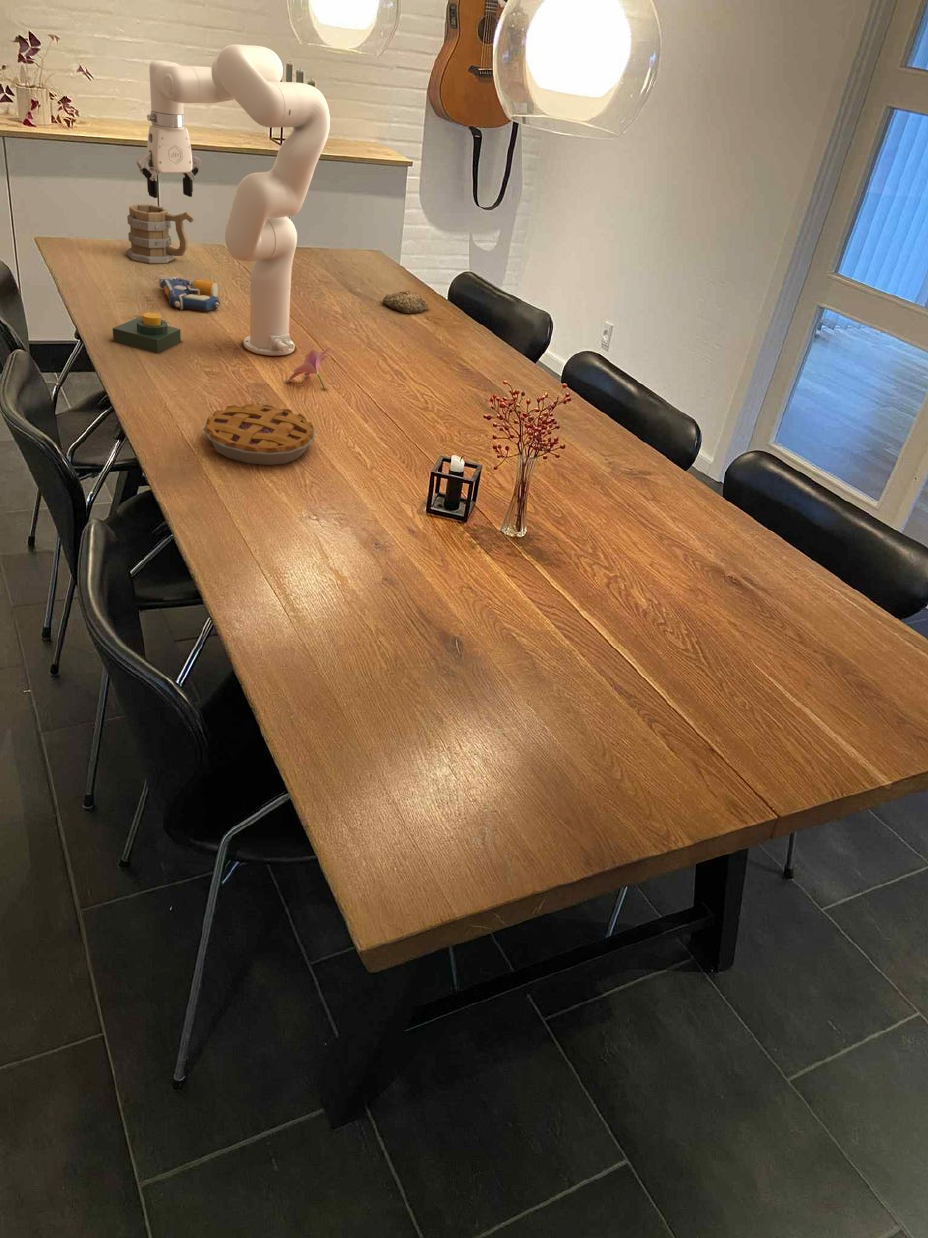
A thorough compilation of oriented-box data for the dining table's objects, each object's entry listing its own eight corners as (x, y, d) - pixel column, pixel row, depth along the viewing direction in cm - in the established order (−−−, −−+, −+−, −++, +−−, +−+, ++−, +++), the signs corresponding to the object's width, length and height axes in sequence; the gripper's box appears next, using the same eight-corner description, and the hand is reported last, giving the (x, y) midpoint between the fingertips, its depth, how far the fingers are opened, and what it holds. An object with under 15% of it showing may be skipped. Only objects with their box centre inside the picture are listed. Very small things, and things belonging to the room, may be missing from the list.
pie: (223, 414, 196) (223, 392, 194) (325, 432, 196) (326, 410, 194) (188, 456, 178) (188, 432, 176) (300, 476, 178) (301, 452, 176)
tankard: (121, 257, 276) (117, 204, 268) (140, 248, 286) (137, 197, 278) (185, 270, 275) (183, 217, 266) (202, 261, 285) (201, 209, 277)
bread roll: (402, 315, 270) (404, 298, 267) (377, 302, 277) (378, 285, 274) (435, 311, 278) (437, 295, 275) (410, 298, 285) (412, 282, 282)
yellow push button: (164, 323, 223) (163, 315, 222) (154, 328, 219) (154, 319, 218) (149, 320, 223) (149, 311, 222) (139, 324, 220) (139, 315, 219)
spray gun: (212, 288, 265) (158, 288, 258) (212, 273, 262) (157, 272, 256) (229, 314, 250) (172, 314, 244) (229, 298, 248) (171, 298, 241)
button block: (180, 341, 227) (180, 321, 224) (157, 353, 219) (156, 332, 216) (137, 330, 229) (136, 310, 227) (113, 341, 221) (111, 320, 218)
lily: (334, 380, 224) (318, 342, 220) (352, 379, 214) (336, 339, 210) (290, 399, 220) (274, 360, 216) (306, 399, 210) (289, 358, 206)
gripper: (143, 122, 216) (147, 200, 226) (207, 124, 228) (208, 198, 237) (126, 116, 220) (131, 193, 230) (190, 118, 231) (192, 191, 241)
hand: (170, 195), depth 234 cm, fingers open, 9 cm apart
